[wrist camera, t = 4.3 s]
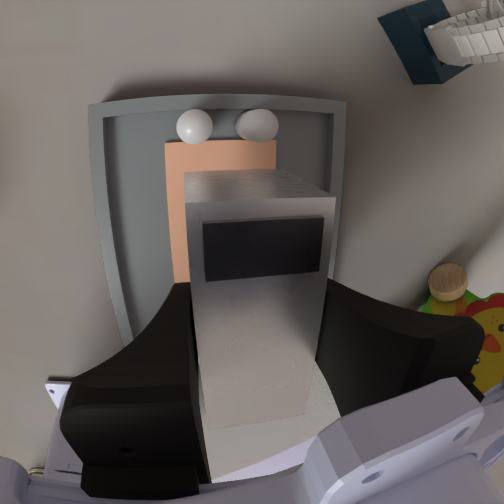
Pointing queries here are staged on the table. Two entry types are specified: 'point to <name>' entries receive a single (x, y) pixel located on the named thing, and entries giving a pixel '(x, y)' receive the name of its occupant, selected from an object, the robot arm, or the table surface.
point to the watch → (445, 38)
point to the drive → (256, 289)
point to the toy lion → (481, 310)
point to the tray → (190, 160)
